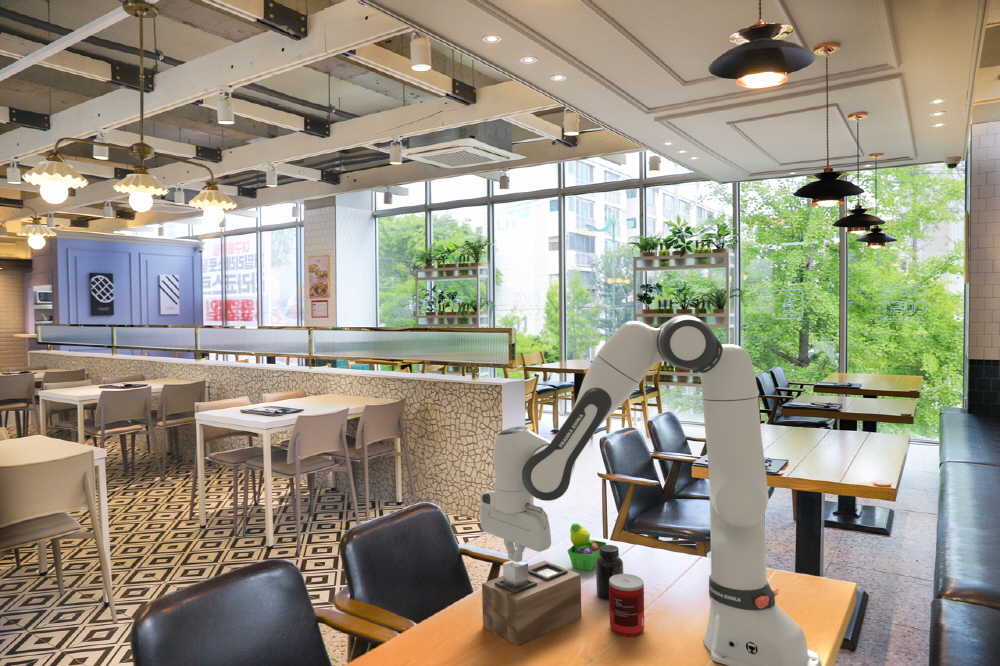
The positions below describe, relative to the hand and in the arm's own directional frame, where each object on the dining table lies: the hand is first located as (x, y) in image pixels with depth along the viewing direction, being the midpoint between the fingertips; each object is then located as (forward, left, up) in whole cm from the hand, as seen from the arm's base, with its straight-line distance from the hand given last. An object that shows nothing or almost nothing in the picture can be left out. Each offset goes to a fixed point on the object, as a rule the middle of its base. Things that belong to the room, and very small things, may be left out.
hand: (515, 560), depth 149 cm
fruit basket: (+15, -40, -16) cm, 46 cm away
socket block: (0, -5, -16) cm, 17 cm away
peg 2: (0, -10, -15) cm, 18 cm away
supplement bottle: (-3, -29, -16) cm, 33 cm away
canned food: (-17, -18, -16) cm, 30 cm away
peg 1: (0, 0, -10) cm, 10 cm away
